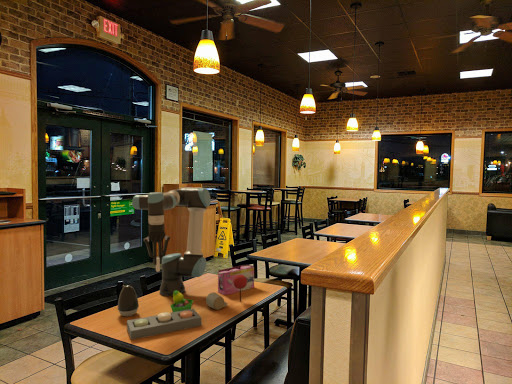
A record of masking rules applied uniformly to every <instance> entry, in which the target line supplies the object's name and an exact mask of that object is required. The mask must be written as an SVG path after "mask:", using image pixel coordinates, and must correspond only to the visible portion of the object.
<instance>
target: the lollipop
mask: <svg viewBox="0 0 512 384" xmlns="http://www.w3.org/2000/svg"><path fill="white" fill-rule="evenodd" d="M233 283H234V286H235V287H236V288H238V289H240V291H239V302H242V299H241V298H242V295H241V294H242V291H241V289H243V288H244V287H246V285H247V279H246V277H245V276H244V275H237V276H236V277H235V278H234V281H233Z"/></svg>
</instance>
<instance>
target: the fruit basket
mask: <svg viewBox="0 0 512 384" xmlns="http://www.w3.org/2000/svg"><path fill="white" fill-rule="evenodd" d="M172 300H173V303H172V304H171V305H170V308H171V311H172V312H177V311H183V310H188V309H192V306H193V303H194V300H193V299H189V298H187V299H186V298H184V294H183V293H182V294H181V293H180V292H179V291H174V293H173V296H172ZM172 312H171V313H172Z"/></svg>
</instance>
